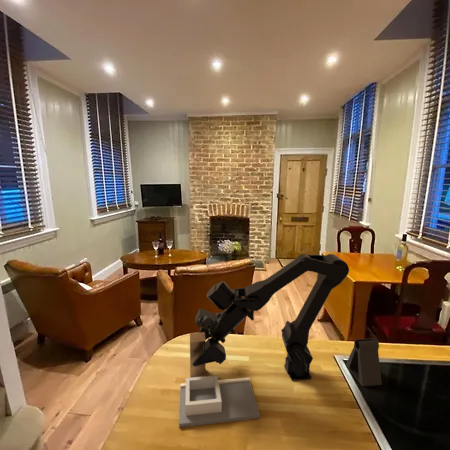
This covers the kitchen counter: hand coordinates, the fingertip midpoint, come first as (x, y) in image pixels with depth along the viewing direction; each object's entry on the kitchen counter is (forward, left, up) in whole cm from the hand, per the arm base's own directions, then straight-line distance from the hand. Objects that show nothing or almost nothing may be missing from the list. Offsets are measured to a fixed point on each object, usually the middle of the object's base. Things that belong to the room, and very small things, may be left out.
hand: (193, 354), depth 78 cm
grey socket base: (-6, +11, -7) cm, 14 cm away
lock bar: (-1, 0, -7) cm, 7 cm away
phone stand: (-52, +6, -7) cm, 53 cm away
